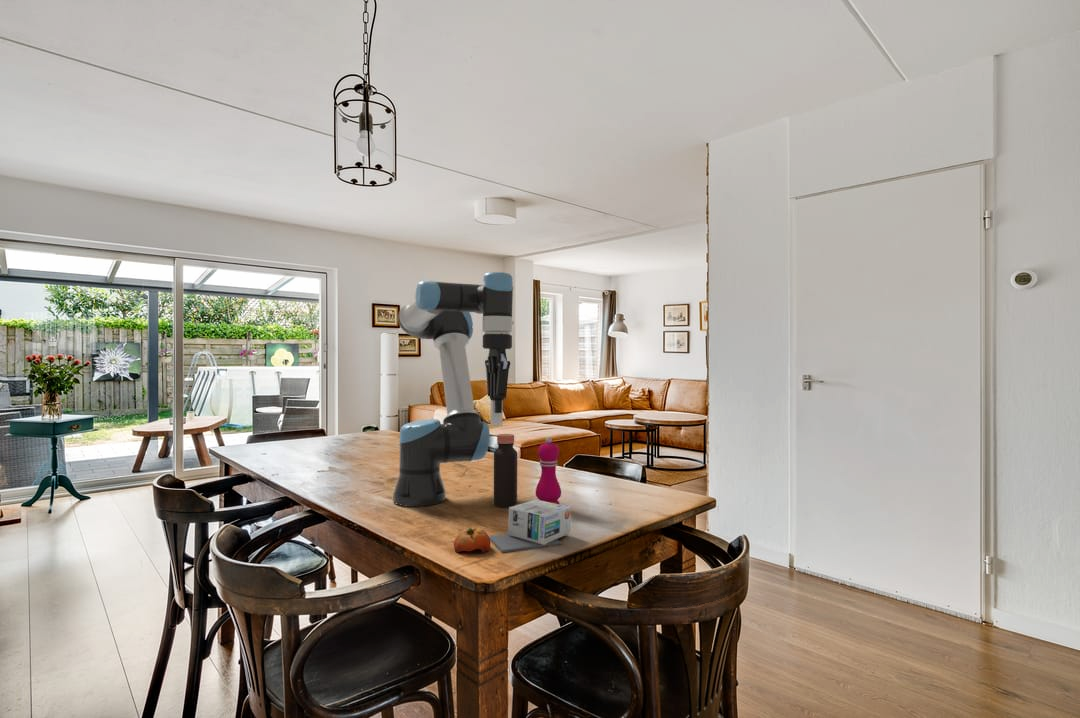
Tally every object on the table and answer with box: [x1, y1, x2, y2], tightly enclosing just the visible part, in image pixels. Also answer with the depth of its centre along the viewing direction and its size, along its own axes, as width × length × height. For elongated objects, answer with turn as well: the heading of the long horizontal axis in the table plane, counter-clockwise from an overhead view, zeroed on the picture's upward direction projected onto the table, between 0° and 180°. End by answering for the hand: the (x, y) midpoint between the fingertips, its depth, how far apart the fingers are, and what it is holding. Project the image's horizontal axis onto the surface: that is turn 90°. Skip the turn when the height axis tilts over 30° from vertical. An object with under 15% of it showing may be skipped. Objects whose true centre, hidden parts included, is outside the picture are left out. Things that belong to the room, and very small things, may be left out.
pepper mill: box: [535, 436, 562, 505], centre depth 149 cm, size 7×7×20 cm
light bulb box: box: [507, 498, 572, 545], centre depth 125 cm, size 11×7×11 cm
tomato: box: [453, 527, 491, 555], centre depth 117 cm, size 8×7×7 cm
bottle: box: [493, 433, 518, 508], centre depth 153 cm, size 7×7×20 cm
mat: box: [488, 533, 562, 553], centre depth 122 cm, size 10×14×1 cm
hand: (496, 425), depth 137 cm, fingers closed
